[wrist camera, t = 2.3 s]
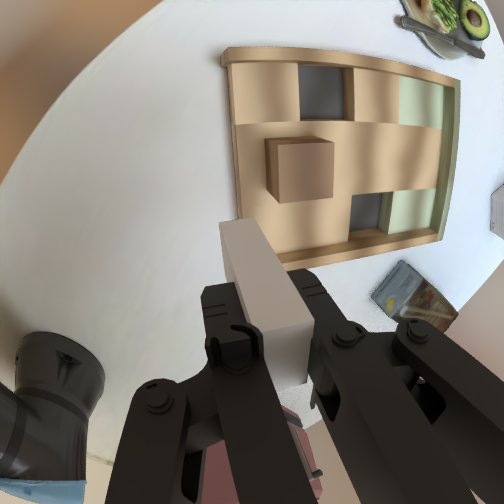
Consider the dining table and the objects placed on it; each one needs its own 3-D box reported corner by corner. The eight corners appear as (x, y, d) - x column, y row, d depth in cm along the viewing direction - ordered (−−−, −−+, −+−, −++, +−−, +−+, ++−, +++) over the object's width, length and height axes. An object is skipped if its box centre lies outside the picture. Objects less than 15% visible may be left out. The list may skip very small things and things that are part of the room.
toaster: (311, 413, 57) (344, 489, 40) (196, 464, 61) (209, 531, 43) (267, 384, 47) (305, 488, 30) (139, 445, 51) (146, 526, 34)
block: (266, 190, 28) (279, 204, 24) (264, 138, 25) (277, 144, 22) (314, 185, 29) (333, 197, 25) (314, 136, 26) (334, 142, 23)
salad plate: (416, 82, 28) (442, 84, 24) (355, -41, 19) (377, -52, 15) (484, 55, 27) (505, 57, 23) (441, -42, 17) (462, -47, 13)
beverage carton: (401, 255, 40) (428, 279, 35) (441, 295, 49) (462, 315, 43) (368, 295, 42) (391, 322, 37) (416, 326, 51) (434, 347, 46)
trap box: (237, 258, 34) (245, 280, 30) (220, 55, 23) (227, 47, 19) (422, 226, 38) (442, 240, 34) (435, 77, 27) (460, 80, 24)
